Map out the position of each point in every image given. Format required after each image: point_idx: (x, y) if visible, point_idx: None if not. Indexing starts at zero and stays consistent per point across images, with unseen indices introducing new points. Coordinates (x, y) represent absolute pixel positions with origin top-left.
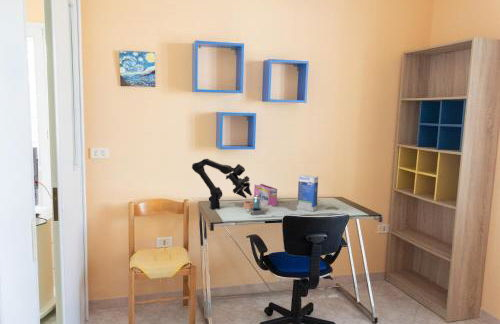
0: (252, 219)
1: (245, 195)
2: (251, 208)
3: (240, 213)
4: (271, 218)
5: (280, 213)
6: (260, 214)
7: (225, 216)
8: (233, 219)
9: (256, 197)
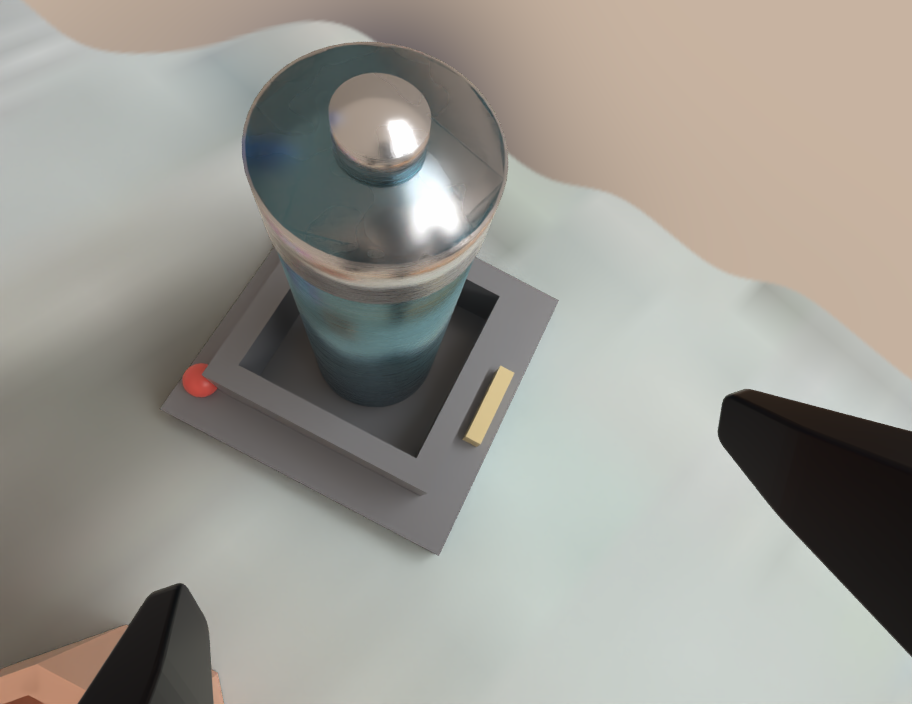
0: (637, 224)
1: (838, 417)
2: (381, 460)
3: (548, 604)
4: None
5: (15, 108)
6: None
7: (883, 636)
8: (860, 412)
9: (481, 102)
